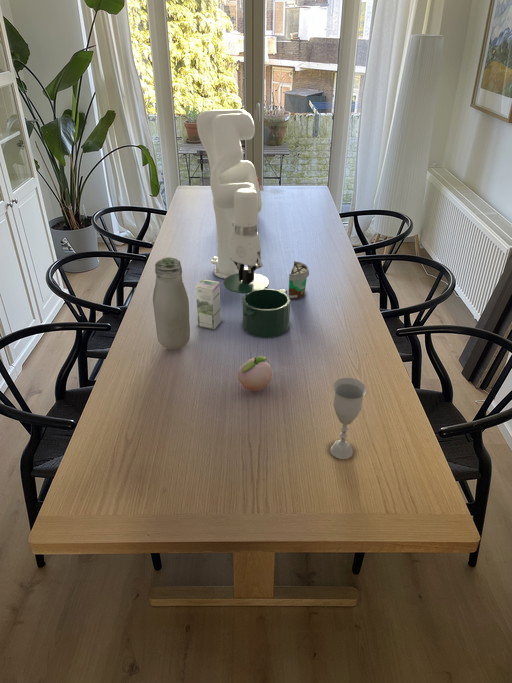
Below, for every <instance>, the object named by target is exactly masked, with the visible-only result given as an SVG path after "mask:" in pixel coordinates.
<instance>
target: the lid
mask: <svg viewBox="0 0 512 683" xmlns="http://www.w3.org/2000/svg"><path fill="white" fill-rule="evenodd" d="M247 272H248V266H244V267H243V268H242V279H243V280H242V281H239V273H237V274H233V275H230V276H228V277H227V278H225V279H224V280H223V282H222V284H223V287H224V288H225V289H226V290H228V291H229V292H231V293H235V294H243V295H245V294H247V293H248V292H250V291H253V290H257V289H268V287H269V286H270V280H269V279H268V278H267V277H266V276H265V275H263V274H260V273H255V272H254V281H253V282H251V283H249V284H248V283H247Z"/></svg>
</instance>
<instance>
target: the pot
mask: <svg viewBox="0 0 512 683" xmlns="http://www.w3.org/2000/svg"><path fill="white" fill-rule="evenodd" d="M287 293H288V290H287V289H283V288H280V289H274V288H266V289H257V290H253V291H250V292H248V293H247V294H243V297H242V328H243V330H244V331H245V332H246V333H247V334H249V335H251V336H253V337H257V338H265V339H267V338H276V337H280V336H282V335H284V334H285V333H286V332H287V331H288V330H289V327H290V315H291V300H290V298H289V294H287Z"/></svg>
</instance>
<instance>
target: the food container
mask: <svg viewBox="0 0 512 683" xmlns="http://www.w3.org/2000/svg"><path fill="white" fill-rule="evenodd" d="M309 276H310V270H309V267H308V265H307V264H305V263H304V262H300V261H297V260H296V261H295V260H294V261H293V266H292V268H291V271H290V273H289V274H288V296H289V298H290V301H293V300H299V299H302V298H303V297H304V296H305V294H306V285H307V280H308V277H309Z"/></svg>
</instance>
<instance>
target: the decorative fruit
mask: <svg viewBox="0 0 512 683" xmlns="http://www.w3.org/2000/svg"><path fill="white" fill-rule="evenodd" d="M272 378H273V368H272V366H271V365H270V363H269V362H268V361H267V357H266V356H262V355H260V356H256V357H252V358H249V359H248V360H247V361H246V363H244V364H243V365H241V366H240V367H239V369H238V372H237V380H238V382H239V384H240V385H241V386H242V387H243V388H244V389H245V390H248V391H250V392H257V391H260V390H263V389H265V388H266V387H267V386H268V385H269V384H270V383H271V382H272Z"/></svg>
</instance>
